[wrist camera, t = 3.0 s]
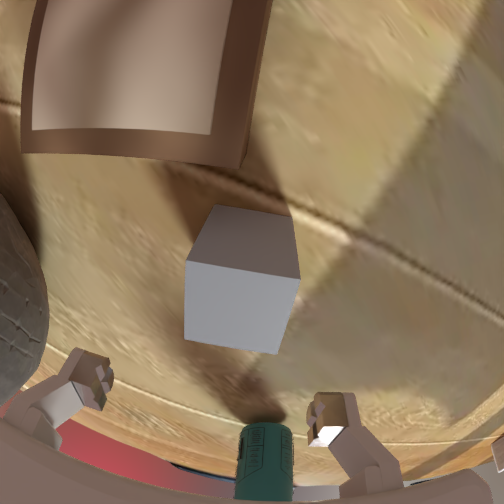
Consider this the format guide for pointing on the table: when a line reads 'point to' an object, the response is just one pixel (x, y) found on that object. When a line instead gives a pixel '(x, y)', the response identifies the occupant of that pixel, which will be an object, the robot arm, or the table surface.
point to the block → (241, 280)
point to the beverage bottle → (265, 463)
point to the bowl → (19, 306)
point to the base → (143, 78)
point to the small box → (498, 453)
